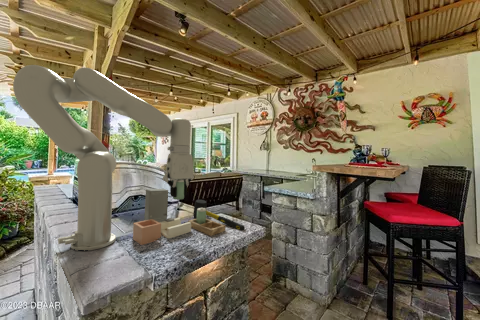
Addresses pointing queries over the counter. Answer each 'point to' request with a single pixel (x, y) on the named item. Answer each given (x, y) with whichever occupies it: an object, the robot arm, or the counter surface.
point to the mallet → (224, 220)
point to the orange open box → (146, 231)
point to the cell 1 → (180, 189)
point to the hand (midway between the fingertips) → (178, 195)
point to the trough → (208, 227)
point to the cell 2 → (201, 215)
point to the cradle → (174, 227)
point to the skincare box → (156, 204)
